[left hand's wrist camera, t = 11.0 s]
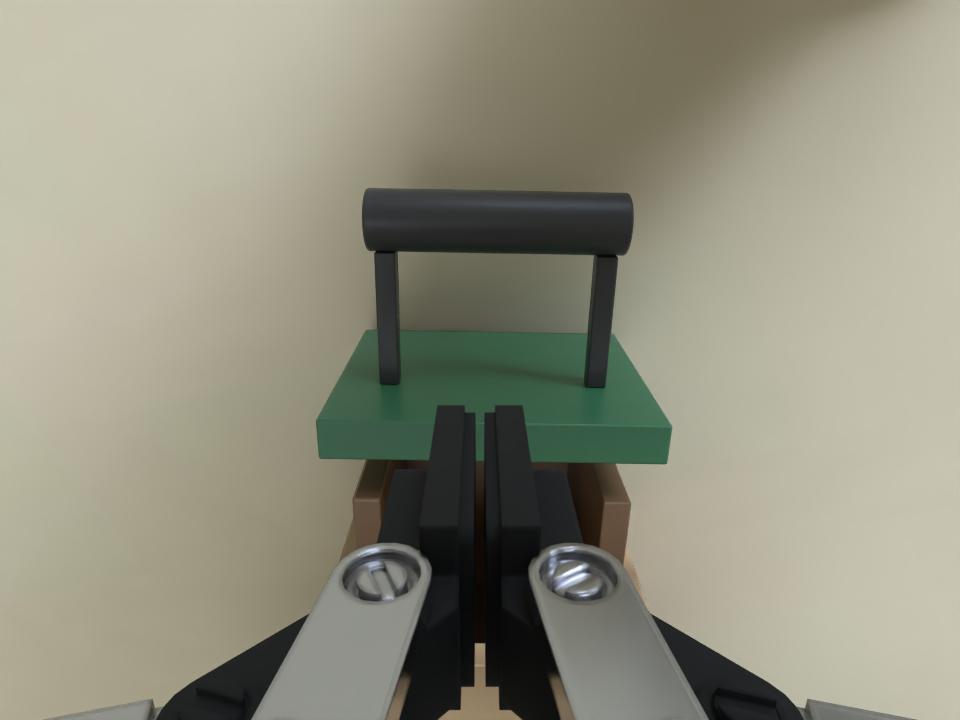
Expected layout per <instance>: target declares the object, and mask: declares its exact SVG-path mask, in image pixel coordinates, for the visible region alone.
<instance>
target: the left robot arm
mask: <svg viewBox="0 0 960 720" xmlns="http://www.w3.org/2000/svg"><path fill="white" fill-rule="evenodd" d="M475 587H476V412H465V405H437V410H436V417H435V424H434V430H433V437H432V444H431V450H430V457H429V463H428V469H396V470H395V472H394V475H393V479H392V483H391V487H390V491H389V495H388V499H387V503H386V507H385V511H384V515H383V519H382V523H381V528H380V532H379V536H378V540H377V544H373V545H368V546H365V547H363V548H360V549H358V550H355V551H353V552H352V553H350V554H349V555H347V556H346V557H345V558H343V559H342V560H341V561H340V562H339V564H338V565H337V566H336V567H335V569H334V571H333V572H332V574H331V576H330V578H329V580H328V581H327V583H326V585H325V587H324V589H323V590H322V592H321V594H320V596H319V598H318V599H317V601H316V603H315V605H314V607H313V609H312V610H311V612H310V614H308V615H306V616H305V617H303V618H301V619H300V620H298V621H296V622H294V623H293V624H291V625H289V626H288V627H286V628H284V629H282V630H281V631H279V632H277V633H276V634H274V635H272V636H270V637H269V638H267V639H265V640H264V641H262V642H260V643H258V644H257V645H255V646H253V647H252V648H250V649H248V650H246V651H245V652H243V653H241V654H240V655H238V656H236V657H234V658H233V659H231V660H229V661H228V662H226V663H224V664H223V665H221V666H219V667H217V668H216V669H214V670H212V671H211V672H209V673H207V674H205V675H204V676H202V677H200V678H199V679H197V680H195V681H193V682H192V683H190V684H189V685H188V686H186V687H185V688H183V689H182V690H181V691H179V692H178V693H176V694H175V695H174V696H173V697H172V698H171V699H170V701H169V702H168V703H167V704H166V705H165V706H164V707H160V708H155V707H154V703H153V699H149V700H144V701H139V702H134V703H128V704H123V705H118V706H113V707H107V708H102V709H97V710H92V711H86V712H81V713H76V714H71V715H66V716H60V717H55V718H50V719H45V720H438V719H439V718H441V717H442V716H443V715H444V714H445V713H447V712H448V711H449V710H461V687H474V686H475ZM484 587H485V686H486V687H499V710H511V711H512V712H513V713H515V714H516V715H517V716H518V717H519V718H521V719H522V720H915V719H910V718H905V717H900V716H894V715H889V714H884V713H879V712H874V711H868V710H863V709H858V708H853V707H847V706H842V705H837V704H832V703H826V702H821V701H816V700H811V699H807V703H806V707H805V708H800V707H796V706H795V705H794V704H793V703H792V702H791V701H790V699H789V698H788V697H787V696H786V695H785V694H784V693H782V692H781V691H779V690H778V689H777V688H775V687H774V686H772V685H771V684H770V683H768V682H767V681H765V680H763V679H761V678H760V677H758V676H756V675H755V674H753V673H751V672H749V671H748V670H746V669H744V668H743V667H741V666H739V665H737V664H736V663H734V662H732V661H731V660H729V659H727V658H726V657H724V656H722V655H720V654H719V653H717V652H715V651H714V650H712V649H710V648H708V647H707V646H705V645H703V644H702V643H700V642H698V641H696V640H695V639H693V638H691V637H690V636H688V635H686V634H684V633H683V632H681V631H679V630H678V629H676V628H674V627H672V626H671V625H669V624H667V623H666V622H664V621H662V620H660V619H659V618H657V617H655V616H654V615H652V614H650V612H649V610H648V609H647V607H646V605H645V603H644V601H643V599H642V598H641V596H640V594H639V592H638V590H637V589H636V587H635V585H634V583H633V581H632V580H631V578H630V576H629V574H628V572H627V571H626V569H625V567H624V566H623V565H622V564H621V562H620V561H619V560H618V559H617V558H615V557H614V556H613V555H611V554H610V553H608V552H607V551H605V550H602V549H600V548H597V547H595V546H592V545H587V544H583V540H582V536H581V532H580V528H579V523H578V519H577V515H576V511H575V507H574V503H573V499H572V495H571V491H570V487H569V483H568V479H567V475H566V472H565V470H564V469H532V463H531V457H530V450H529V444H528V437H527V430H526V424H525V417H524V410H523V405H495V412H484Z"/></svg>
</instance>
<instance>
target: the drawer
mask: <svg viewBox="0 0 960 720" xmlns="http://www.w3.org/2000/svg"><path fill="white" fill-rule="evenodd" d="M633 222H634V211H633V203H632V199H631V196H630V195H629V194H628V193H599V192H546V191H494V190H441V189H388V188H368V189H366V191H365V193H364V197H363V205H362V228H363V237H364V242H365V246H366V248H367V250H369V251H376V252H375V253H374V260H375V284H376V308H377V330H366V331H365V333H364V335H363V337H362V338H361V340H360V342H359V344H358V346H357V347H356V349H355V351H354V353H353V355H352V357H351V358H350V360H349V362H348V364H347V366H346V367H345V369H344V371H343V373H342V375H341V376H340V378H339V380H338V382H337V384H336V386H335V387H334V389H333V391H332V393H331V395H330V396H329V398H328V400H327V402H326V404H325V406H324V407H323V409H322V411H321V413H320V415H319V416H318V418H317V420H316V427H317V439H318V451H319V458H321V459H366V461H365V464H364V467H363V470H362V473H361V476H360V479H359V482H358V485H357V488H356V491H355V494H354V497H353V514H354V530H355V546H356V550H358V549H360V548H363V547H365V546H368V545H373V544H377V540H378V536H379V532H380V528H381V523H382V519H383V515H384V511H385V507H386V503H387V499H388V495H389V491H390V487H391V483H392V479H393V475H394V472H395V470H396V469H428V463H429V457H430V450H431V444H432V437H433V430H434V424H435V417H436V410H437V405H465V412H476V587H475V643H485V587H484V412H495V405H523V410H524V417H525V424H526V430H527V437H528V444H529V450H530V457H531V463H532V469H564V470H565V472H566V475H567V479H568V483H569V487H570V491H571V495H572V499H573V503H574V507H575V511H576V515H577V519H578V523H579V528H580V532H581V536H582V540H583V544H587V545H592V546H595V547H597V548H600V549H602V550H605V551H607V552H608V553H610V554H611V555H613V556H614V557H615V558H617V559H618V560H619V561H620V562H621V564H622V565H623V566H624V558H625V550H626V542H627V533H628V525H629V517H630V509H631V502H630V499H629V497H628V494H627V492H626V489H625V487H624V484H623V482H622V479H621V477H620V474H619V472H618V469H617V467H616V464H615V463H621V464H667V460H668V453H669V446H670V439H671V432H672V425H671V424H670V422H669V421H668V419H667V417H666V416H665V414H664V413H663V411H662V410H661V408H660V406H659V405H658V403H657V402H656V400H655V399H654V397H653V395H652V394H651V392H650V391H649V389H648V387H647V386H646V384H645V383H644V381H643V380H642V378H641V376H640V375H639V373H638V372H637V370H636V369H635V367H634V365H633V364H632V362H631V361H630V359H629V358H628V356H627V354H626V353H625V351H624V350H623V348H622V347H621V345H620V343H619V342H618V340H617V339H616V337H615V336H614V335H613V334H611V327H612V317H613V306H614V296H615V286H616V276H617V265H618V257H617V256H616V255H625V254H626V253H627V251H628V249H629V246H630V243H631V239H632V233H633ZM398 251H404V252H458V253H513V254H567V255H594V263H593V275H592V287H591V299H590V311H589V323H588V334H574V333H516V332H459V331H402V330H400V318H399V282H398Z"/></svg>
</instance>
